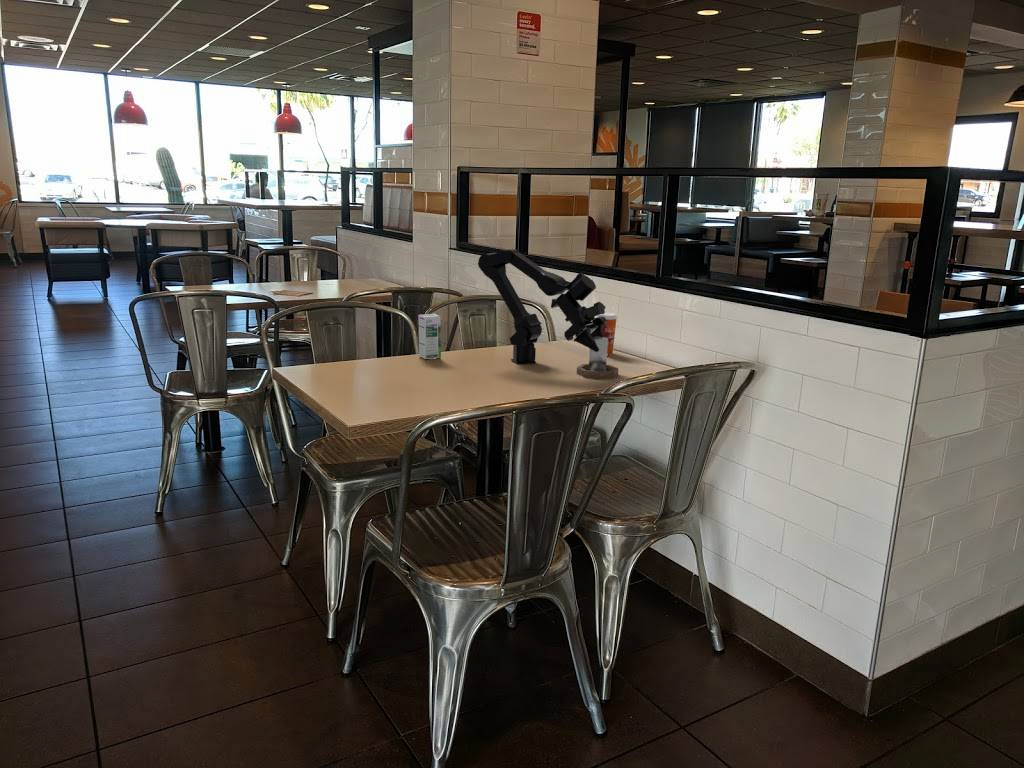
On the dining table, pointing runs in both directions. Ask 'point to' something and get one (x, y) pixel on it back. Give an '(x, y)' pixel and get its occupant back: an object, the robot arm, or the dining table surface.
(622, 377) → the dining table surface
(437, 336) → the syrup box
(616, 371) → the bore ring
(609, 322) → the paper cup
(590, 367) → the metal tumbler
